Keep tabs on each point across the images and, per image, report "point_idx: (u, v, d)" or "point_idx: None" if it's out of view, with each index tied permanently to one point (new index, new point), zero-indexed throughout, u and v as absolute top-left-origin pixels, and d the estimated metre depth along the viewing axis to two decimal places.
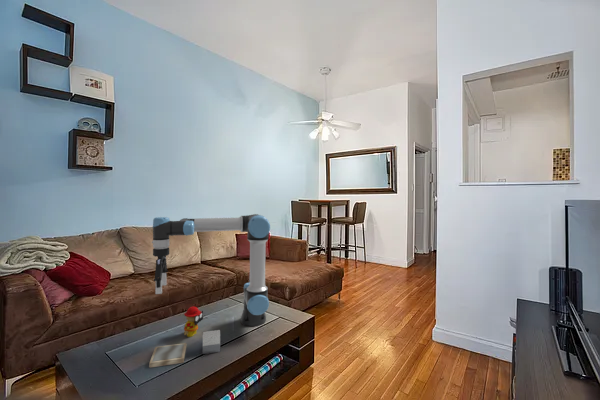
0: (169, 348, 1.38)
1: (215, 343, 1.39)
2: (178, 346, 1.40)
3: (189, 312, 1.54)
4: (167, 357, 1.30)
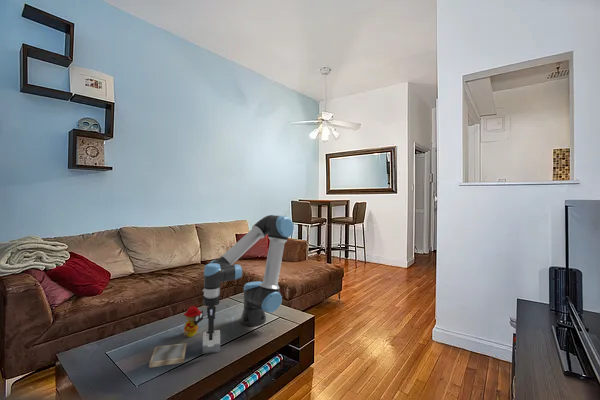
0: (169, 348, 1.38)
1: (215, 343, 1.39)
2: (178, 346, 1.40)
3: (189, 312, 1.54)
4: (167, 357, 1.30)
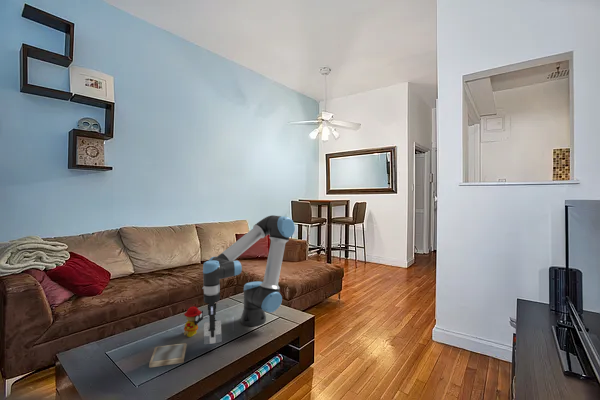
0: (169, 348, 1.38)
1: (216, 333, 1.39)
2: (178, 346, 1.40)
3: (189, 312, 1.54)
4: (167, 357, 1.30)
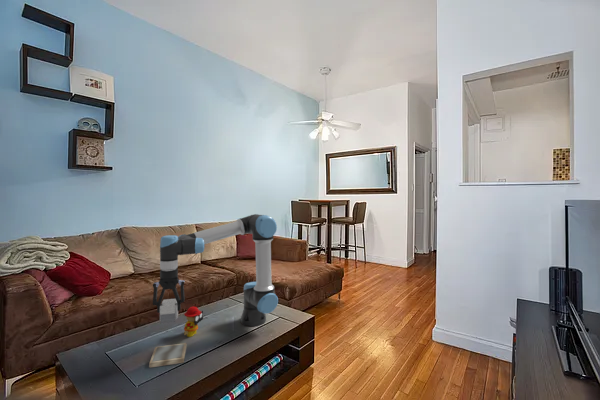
0: (169, 348, 1.38)
1: None
2: (178, 346, 1.40)
3: (189, 312, 1.54)
4: (167, 357, 1.30)
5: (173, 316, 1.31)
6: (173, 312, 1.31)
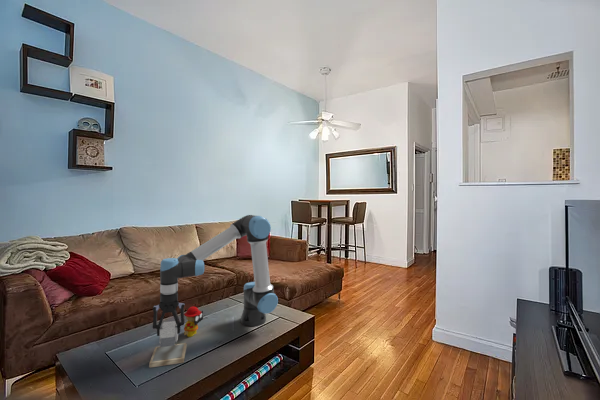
0: (169, 348, 1.38)
1: None
2: (178, 346, 1.40)
3: (189, 312, 1.54)
4: (167, 357, 1.30)
5: (173, 340, 1.31)
6: (173, 336, 1.31)
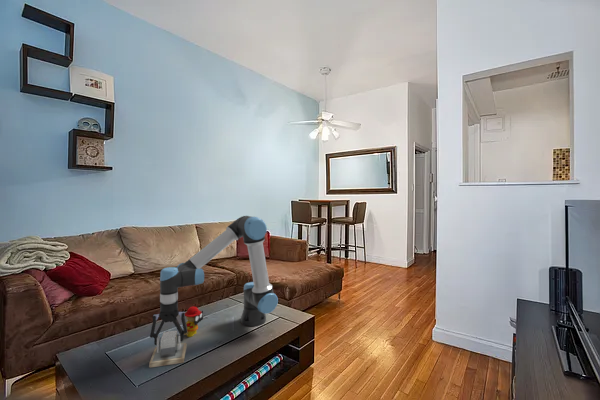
0: None
1: None
2: None
3: (189, 312, 1.54)
4: (167, 357, 1.30)
5: (173, 350, 1.31)
6: (173, 346, 1.31)
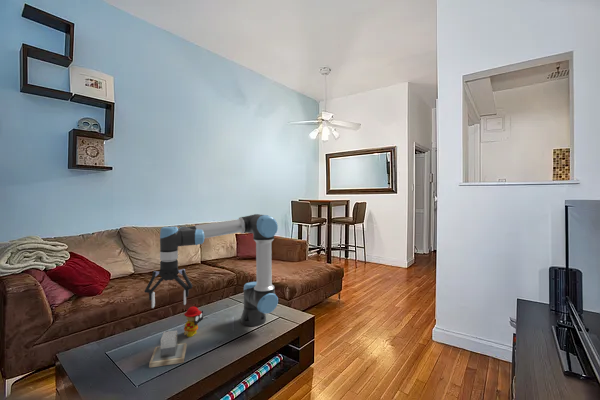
0: None
1: None
2: (178, 346, 1.40)
3: (189, 312, 1.54)
4: (167, 357, 1.30)
5: (173, 350, 1.31)
6: (173, 346, 1.31)
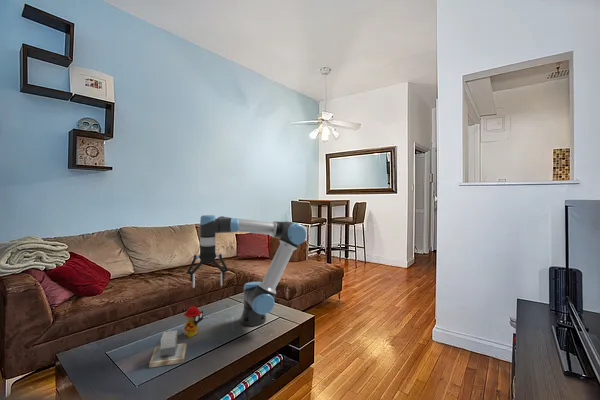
0: None
1: None
2: (178, 346, 1.40)
3: (189, 312, 1.54)
4: (167, 357, 1.30)
5: (173, 350, 1.31)
6: (173, 346, 1.31)
